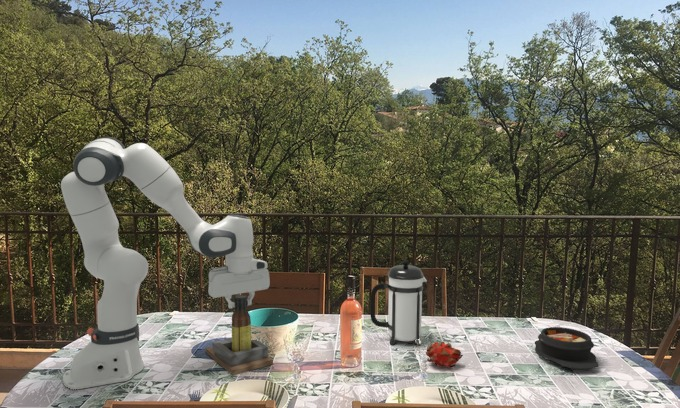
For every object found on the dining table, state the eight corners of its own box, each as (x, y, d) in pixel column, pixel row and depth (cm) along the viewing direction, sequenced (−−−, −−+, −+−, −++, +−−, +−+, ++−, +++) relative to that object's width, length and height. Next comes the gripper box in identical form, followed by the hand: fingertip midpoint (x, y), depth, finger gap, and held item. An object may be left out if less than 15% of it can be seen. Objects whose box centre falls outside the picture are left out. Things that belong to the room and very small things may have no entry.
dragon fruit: (421, 368, 158) (458, 374, 158) (427, 362, 151) (466, 369, 150) (423, 342, 162) (459, 348, 162) (428, 335, 155) (466, 341, 155)
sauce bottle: (253, 352, 163) (254, 293, 162) (248, 359, 157) (249, 299, 155) (234, 350, 164) (235, 292, 162) (228, 358, 157) (229, 297, 156)
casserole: (521, 345, 175) (522, 322, 174) (572, 344, 176) (573, 321, 175) (555, 375, 150) (556, 349, 149) (614, 374, 151) (615, 348, 150)
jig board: (232, 375, 149) (232, 359, 148) (205, 352, 166) (205, 338, 166) (273, 364, 157) (273, 349, 157) (243, 343, 175) (243, 329, 174)
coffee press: (402, 329, 190) (403, 253, 187) (433, 341, 177) (435, 260, 175) (368, 339, 179) (369, 258, 177) (399, 352, 167) (400, 266, 164)
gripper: (212, 270, 149) (213, 314, 150) (271, 262, 161) (272, 303, 162) (204, 266, 154) (205, 309, 155) (262, 259, 166) (263, 299, 167)
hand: (240, 306), depth 159 cm, fingers open, 5 cm apart
